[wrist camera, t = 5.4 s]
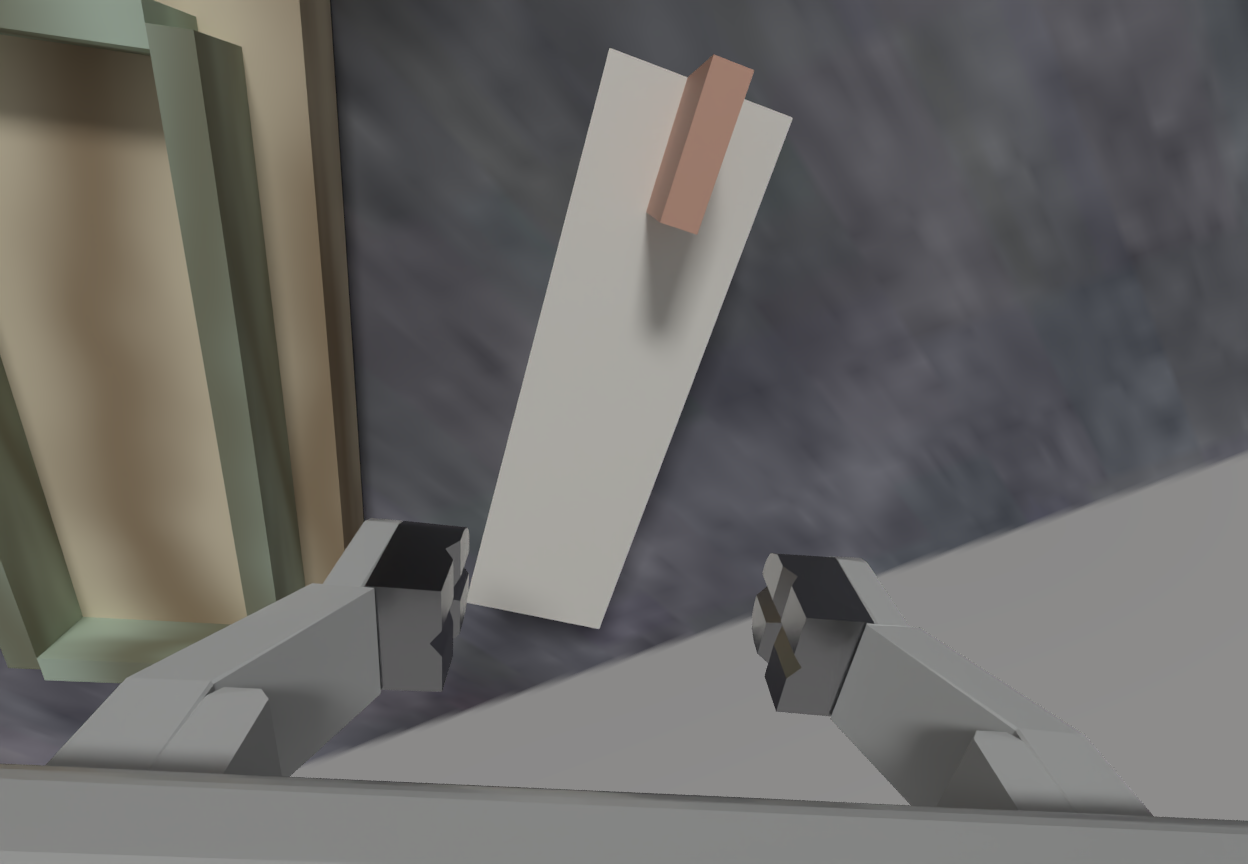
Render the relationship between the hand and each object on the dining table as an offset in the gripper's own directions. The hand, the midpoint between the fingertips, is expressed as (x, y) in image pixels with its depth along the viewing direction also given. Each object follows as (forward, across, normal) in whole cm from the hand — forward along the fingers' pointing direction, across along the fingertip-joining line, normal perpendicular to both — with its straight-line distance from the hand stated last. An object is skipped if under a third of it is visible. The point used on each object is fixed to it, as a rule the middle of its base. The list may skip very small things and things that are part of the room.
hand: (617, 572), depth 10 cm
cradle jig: (+12, +15, +2) cm, 19 cm away
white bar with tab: (+13, 0, 0) cm, 13 cm away
